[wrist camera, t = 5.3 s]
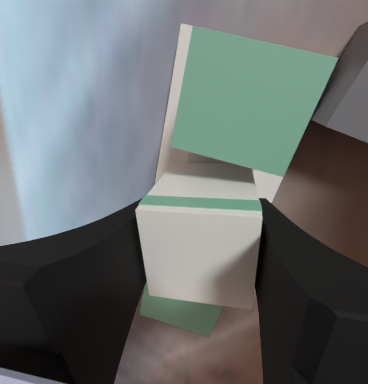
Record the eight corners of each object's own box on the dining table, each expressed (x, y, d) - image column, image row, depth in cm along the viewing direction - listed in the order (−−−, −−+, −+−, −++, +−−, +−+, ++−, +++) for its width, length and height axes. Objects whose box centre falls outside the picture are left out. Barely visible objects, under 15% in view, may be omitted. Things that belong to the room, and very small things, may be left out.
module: (245, 231, 13) (252, 310, 8) (176, 226, 13) (148, 295, 9) (251, 163, 11) (263, 216, 6) (171, 162, 12) (134, 209, 7)
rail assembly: (331, 59, 10) (412, 39, 6) (231, 281, 17) (230, 353, 12) (184, 27, 11) (147, -16, 6) (145, 254, 18) (114, 313, 13)
